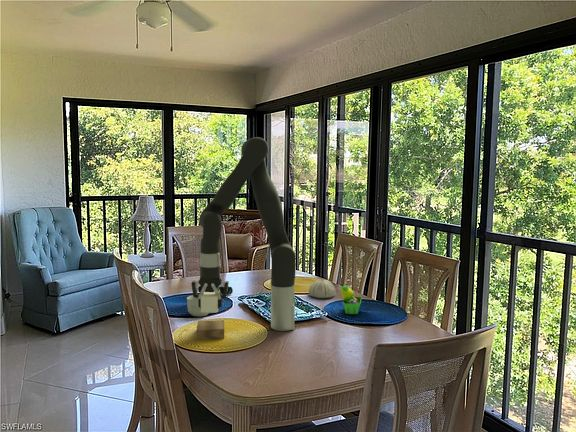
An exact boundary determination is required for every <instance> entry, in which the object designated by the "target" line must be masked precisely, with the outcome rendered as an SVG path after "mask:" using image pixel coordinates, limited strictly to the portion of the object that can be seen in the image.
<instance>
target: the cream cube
mask: <svg viewBox="0 0 576 432" xmlns="http://www.w3.org/2000/svg"><path fill="white" fill-rule="evenodd" d="M219 310H220V309H218V295H216V294H215V292H204V294H203V295H201V312H210V313H211V314H212V313H218V311H219Z"/></svg>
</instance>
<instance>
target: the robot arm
mask: <svg viewBox="0 0 576 432" xmlns="http://www.w3.org/2000/svg"><path fill="white" fill-rule="evenodd" d="M269 150H270V149H269V144H268V143H267V141H266V140H265V139H264V138H262V137H259V136H257V137H255V136H254V137H251V138H249V139H247V140H246V141H244V142H243V143H242V145H241V150H240V151H241V157H240V159H239V161H238V162H237V164H236V165H235V167H234V169H233V170H232V171H231V173H230V174H229V175H228V176H227V178H225V180H224V182H223V183H222V184H221V185H220V186H219V188H218V190H217V192H215V194H214V196H213V197H212V199H211V200H210V202H209V203H208V204H207V205H206V206H205V207H204V208H203V210H202V212H201V214H200V216H199V217H198V222H199V225H200V226H201V227H202V238H201V239H200V257H199V279H198V280H192V281H191V283H190V284H191V290H192V295H193V297H194V298H195V297H196V298H198V306H199V307H200V309H201V295H203V294H204V292H205V291H206V292H208V291H211V292H215V294H216V295H218V309H219V310H220V309H221V308H222V306H223V299H226V298H227V296H228V295H227V291H228V286H229V284H230V282H229V281H228V280H226V281H225V280H222V279H221V255H220V254H221V249H220V248H221V247H220V246H221V243H220V240H221V233H222V227H223V226H222V225H223V222H222V218H221V217H222V216H223V214H224V213H225V212H226V211H228V210H229V209H230V208H231V207H232V205H233V203H234V201H235V200H236V198H237V197H238V195H239V194H240V192H241V191H242V188H243V187H244V185H245V184H246V182H247V181H248V179H249V178H250V181H251V188H252V193H253V196H254V200H255V203H256V208H257V211H258V214H259V217H260V219H261V222H262V225H263V228H264V230H265V232H266V235H267V240H268V244H269V251H270V258H271V267H270V269H271V274H270V275H271V276H270V328H271V329H272V330H274V331H278V332H280V331H281V332H286V331H292V330H293V331H294V330H295V279H296V261H297V260H296V259H297V258H296V253H295V251H294V249H293V247H292V245H291V243H290V240H289V238H288V234H287V231H286V228H285V220H284V219H285V218H284V212H283V211H284V210H283V208H282V207H283V205H282V201H281V198H280V195H279V191H278V190H277V188H276V185H275V184H274V181H273V180H272V178H271V177H270V175H269V172H268V168H267V165H266V164H267V163H266V158H267V156H268V154H269ZM199 286H201V287H202V290H201V292H200V293H198V289H197V288H198V287H199ZM220 286H223V287H224V292H223V294H221V292H220V290H219V287H220Z"/></svg>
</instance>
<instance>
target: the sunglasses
mask: <svg viewBox="0 0 576 432" xmlns="http://www.w3.org/2000/svg"><path fill="white" fill-rule="evenodd" d="M201 290H202V287H201V286H200V285H198V287H197V292H199V293H198V294H200V292H201ZM219 290H220V292H221V294H223V292H224V287H223V285H220V286H219ZM233 291H234V290H233V287H232V286H229V285H228V291H227V296H226V298H225V299H226V302H225V303H226V304H228V298H229V296H230V295H232V294H233ZM205 292H206V291H205ZM208 292H211V291H208Z"/></svg>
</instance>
